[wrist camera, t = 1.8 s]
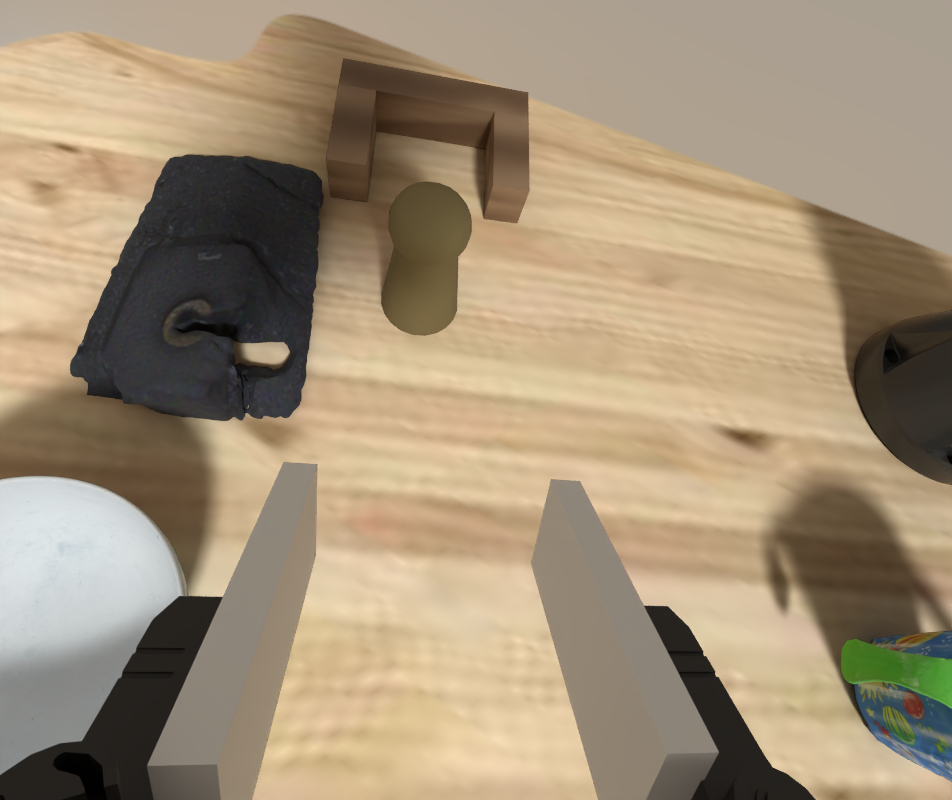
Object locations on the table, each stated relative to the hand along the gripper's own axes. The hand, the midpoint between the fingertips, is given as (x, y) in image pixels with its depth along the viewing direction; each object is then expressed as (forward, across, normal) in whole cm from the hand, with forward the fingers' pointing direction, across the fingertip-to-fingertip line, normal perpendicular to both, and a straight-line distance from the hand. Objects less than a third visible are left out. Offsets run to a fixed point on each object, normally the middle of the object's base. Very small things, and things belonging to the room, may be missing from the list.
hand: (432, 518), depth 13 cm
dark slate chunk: (+30, -15, -2) cm, 34 cm away
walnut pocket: (+40, 0, +8) cm, 41 cm away
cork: (+30, 0, -2) cm, 30 cm away
